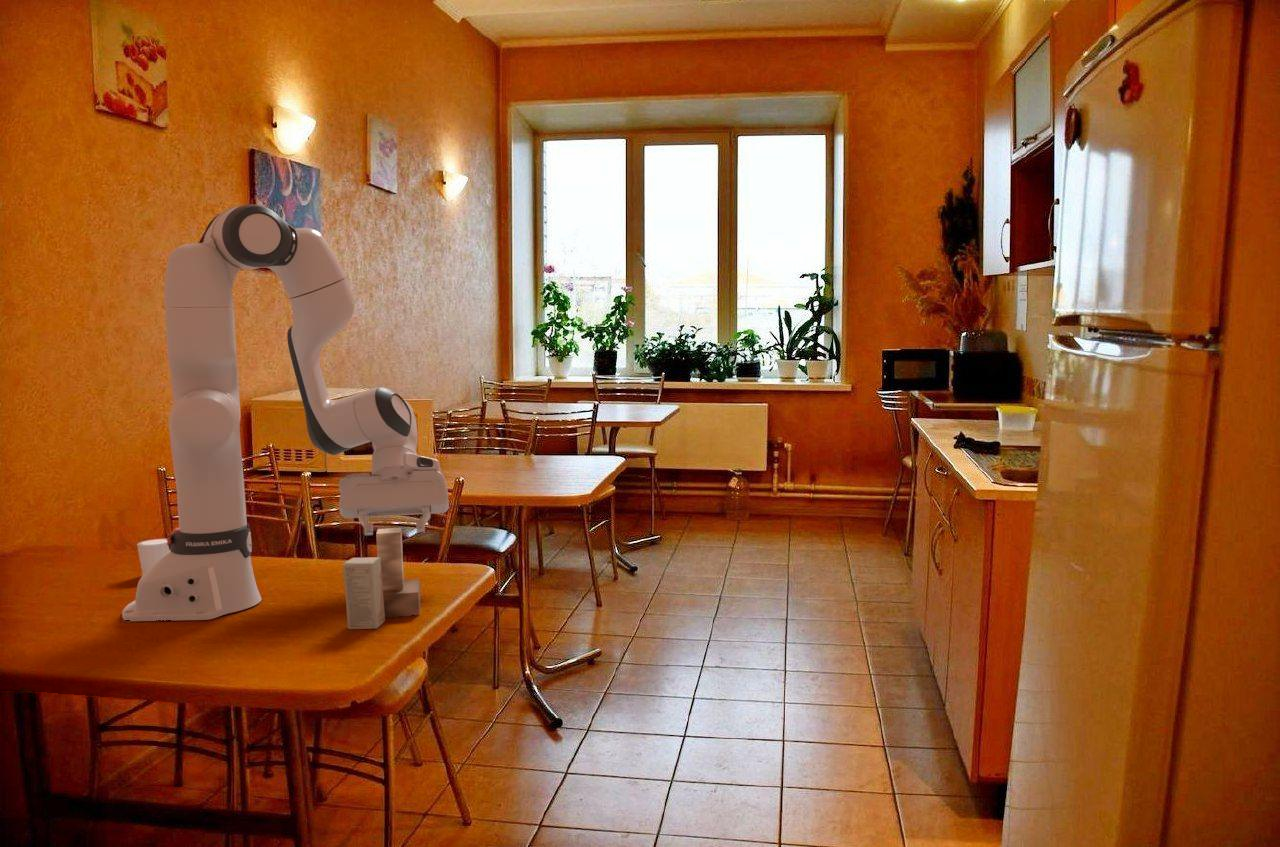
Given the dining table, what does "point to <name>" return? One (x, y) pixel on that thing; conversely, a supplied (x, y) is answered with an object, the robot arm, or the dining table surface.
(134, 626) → the dining table surface
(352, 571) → the box
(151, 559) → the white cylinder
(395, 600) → the light tan slab
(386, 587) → the oak post
